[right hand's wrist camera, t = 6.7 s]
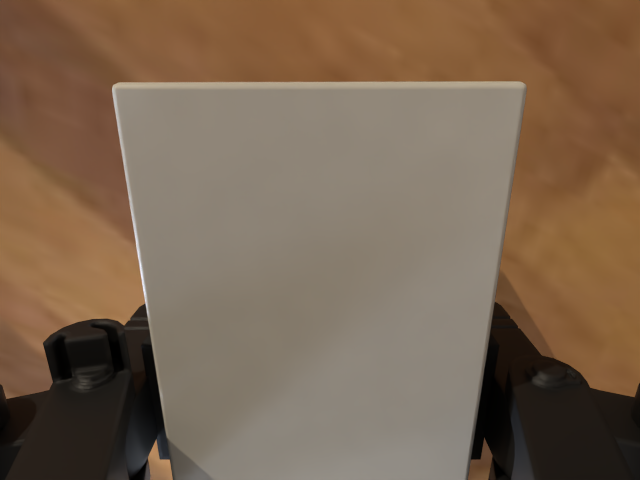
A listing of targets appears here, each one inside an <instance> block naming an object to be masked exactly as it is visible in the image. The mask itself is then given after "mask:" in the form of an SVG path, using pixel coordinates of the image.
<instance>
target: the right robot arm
mask: <svg viewBox="0 0 640 480" xmlns="http://www.w3.org/2000/svg"><path fill="white" fill-rule="evenodd" d="M43 345H44V349H45V353H46V357H47V361H48V364H49V368H50V372H51V376H52V380H53V383H52V385H51V387H50V390H48V391H44V392H40V393H35V394H30V395H25V396H20V397H15V398H10V399H6V397H5V394H4V390H3V387H2V385H0V480H150V469H149V463H148V456H149V453H150V451H151V449H152V447H153V445H154V443H155V440H156V439H157V445H158V451H159V457H160V459H170V457H169V450H168V444H167V437H166V431H165V425H164V418H163V412H162V406H161V399H160V393H159V386H158V380H157V374H156V367H155V361H154V355H153V348H152V342H151V335H150V329H149V323H148V316H147V310H146V304H144V305H142V306H140V307H139V308H138V310H137V311H136V312H135V313H134V314H133V316H132V317H131V318H130V321H128V322H127V323H126V324H125V326H124V325H122V324H121V323H120V322H118V321H115V320H110V319H91V320H86V321H81V322H77V323H74V324H72V325H69V326H66V327H64V328H62V329H60V330H58V331H57V332H55V333H53V334H52V335H50V336H49V337H48V338H47V339H46V340H45V341H44V343H43ZM484 437H485V440H486V442H487V444H488V446H489V448H490V450H491V453H492V455H493V457H492V463H491V468H490V474H489V479H488V480H640V383H639V385H638V389H637V392H636V395H635V397H630V396H625V395H620V394H615V393H610V392H605V391H600V390H596V389H593V388H590V387H589V385H588V383H587V381H586V380H585V379H584V377H583V376H582V375H581V374H580V373H579V372H578V371H577V370H575V369H574V368H572V367H571V366H569V365H568V364H565V363H563V362H561V361H558V360H556V359H554V358H549V357H545V356H542V355H541V354H540V353H539V352H538V350H537V349H536V348H535V347H534V345H533V344H532V343H531V342H530V341H529V339H528V338H527V337H526V336H525V334H524V333H523V332H522V331H521V329H518V326H517V325H516V323H515V322H514V321H513V320H512V319H510V316H509V315H508V313H507V312H506V311H505V310H504V309H503V307H502V306H501V305H499V304H498V303H496V302H494V309H493V316H492V322H491V329H490V335H489V342H488V349H487V355H486V362H485V368H484V375H483V382H482V388H481V395H480V401H479V408H478V415H477V421H476V428H475V434H474V441H473V448H472V454H471V459H481V453H482V447H483V441H484Z"/></svg>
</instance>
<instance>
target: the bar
mask: <svg viewBox="0 0 640 480" xmlns="http://www.w3.org/2000/svg"><path fill="white" fill-rule="evenodd" d="M526 91H527V88H526V84H524V83H522V82H520V81H489V82H119V83H117V84H114V85H113V88H112V93H113V100H114V106H115V112H116V119H117V125H118V131H119V138H120V144H121V151H122V157H123V163H124V170H125V176H126V182H127V189H128V195H129V202H130V208H131V214H132V221H133V227H134V233H135V240H136V246H137V253H138V259H139V265H140V272H141V278H142V284H143V291H144V297H145V304H146V310H147V316H148V323H149V329H150V335H151V342H152V348H153V355H154V361H155V367H156V374H157V380H158V386H159V393H160V399H161V406H162V412H163V418H164V425H165V431H166V437H167V444H168V450H169V457H170V463H171V469H172V476H173V480H468V474H469V467H470V461H471V454H472V448H473V441H474V434H475V428H476V421H477V415H478V408H479V401H480V395H481V388H482V382H483V375H484V368H485V362H486V355H487V349H488V342H489V335H490V329H491V322H492V316H493V309H494V302H495V296H496V289H497V283H498V276H499V269H500V263H501V256H502V250H503V243H504V236H505V230H506V223H507V217H508V210H509V203H510V197H511V190H512V184H513V177H514V170H515V164H516V157H517V151H518V144H519V138H520V131H521V124H522V118H523V111H524V105H525V98H526Z"/></svg>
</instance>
